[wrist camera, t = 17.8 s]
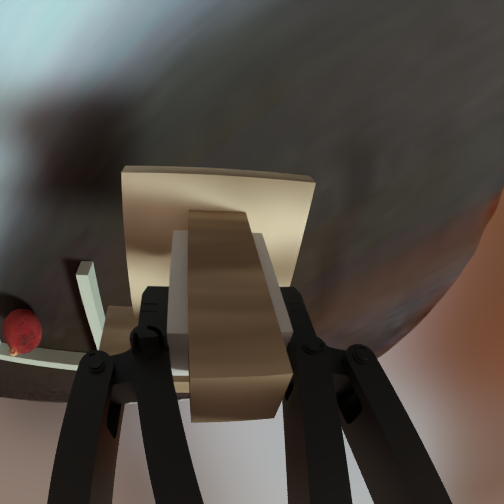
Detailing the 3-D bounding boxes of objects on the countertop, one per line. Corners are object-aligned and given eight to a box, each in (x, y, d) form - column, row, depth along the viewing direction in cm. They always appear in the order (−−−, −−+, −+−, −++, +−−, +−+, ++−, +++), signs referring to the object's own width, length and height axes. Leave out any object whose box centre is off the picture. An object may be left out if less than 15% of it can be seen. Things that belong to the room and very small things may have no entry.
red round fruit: (32, 292, 35) (13, 338, 29) (55, 321, 39) (41, 367, 32) (6, 300, 35) (-13, 343, 29) (28, 327, 39) (13, 370, 32)
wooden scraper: (89, 166, 15) (-9, 317, 6) (341, 179, 18) (457, 314, 9) (110, 317, 21) (90, 463, 12) (300, 318, 24) (346, 451, 15)
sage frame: (-47, 255, 29) (-55, 266, 27) (92, 261, 34) (87, 275, 32) (-2, 346, 41) (-6, 358, 39) (116, 360, 45) (115, 373, 43)
